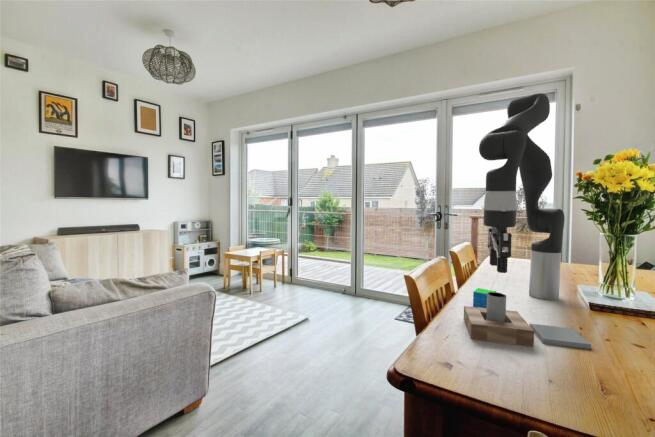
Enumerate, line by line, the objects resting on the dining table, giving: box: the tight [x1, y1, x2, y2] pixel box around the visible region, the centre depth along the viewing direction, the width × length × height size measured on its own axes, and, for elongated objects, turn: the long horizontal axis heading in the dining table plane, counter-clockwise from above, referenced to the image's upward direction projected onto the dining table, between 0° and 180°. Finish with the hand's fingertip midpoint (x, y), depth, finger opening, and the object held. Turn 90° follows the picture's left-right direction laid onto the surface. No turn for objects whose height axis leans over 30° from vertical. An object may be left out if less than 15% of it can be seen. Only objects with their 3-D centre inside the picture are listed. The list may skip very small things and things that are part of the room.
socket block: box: [463, 305, 535, 348], centre depth 83 cm, size 14×14×4 cm
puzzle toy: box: [472, 287, 497, 308], centre depth 102 cm, size 6×6×6 cm
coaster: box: [529, 323, 592, 350], centre depth 80 cm, size 10×10×1 cm
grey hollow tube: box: [486, 291, 507, 322], centre depth 83 cm, size 4×4×10 cm
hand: (497, 268), depth 82 cm, fingers open, 8 cm apart
